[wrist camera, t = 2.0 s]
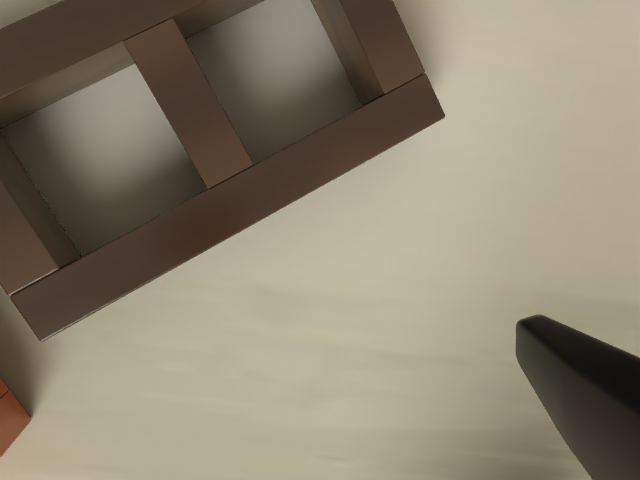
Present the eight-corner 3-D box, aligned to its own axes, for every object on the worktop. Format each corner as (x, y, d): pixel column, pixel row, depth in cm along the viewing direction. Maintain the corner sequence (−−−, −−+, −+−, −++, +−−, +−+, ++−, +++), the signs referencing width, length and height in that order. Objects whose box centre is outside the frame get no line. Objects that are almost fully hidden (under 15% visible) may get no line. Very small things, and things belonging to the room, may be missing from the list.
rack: (417, 126, 23) (446, 116, 20) (65, 322, 20) (40, 343, 18) (319, -81, 21) (335, -125, 18) (-81, 106, 19) (-136, 90, 16)
